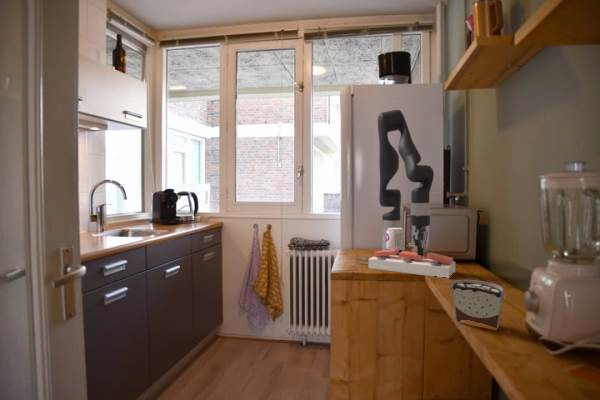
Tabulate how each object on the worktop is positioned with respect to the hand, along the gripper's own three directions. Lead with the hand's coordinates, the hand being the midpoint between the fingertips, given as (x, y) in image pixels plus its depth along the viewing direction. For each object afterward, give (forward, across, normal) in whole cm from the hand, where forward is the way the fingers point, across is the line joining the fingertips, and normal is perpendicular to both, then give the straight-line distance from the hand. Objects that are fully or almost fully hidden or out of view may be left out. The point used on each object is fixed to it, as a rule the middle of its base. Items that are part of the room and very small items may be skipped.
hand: (420, 256), depth 142 cm
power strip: (+6, +1, -8) cm, 10 cm away
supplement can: (+6, -15, -16) cm, 22 cm away
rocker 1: (0, 0, -15) cm, 15 cm away
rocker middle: (0, 0, -4) cm, 4 cm away
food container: (+6, +48, +28) cm, 56 cm away
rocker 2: (0, 0, +7) cm, 7 cm away
